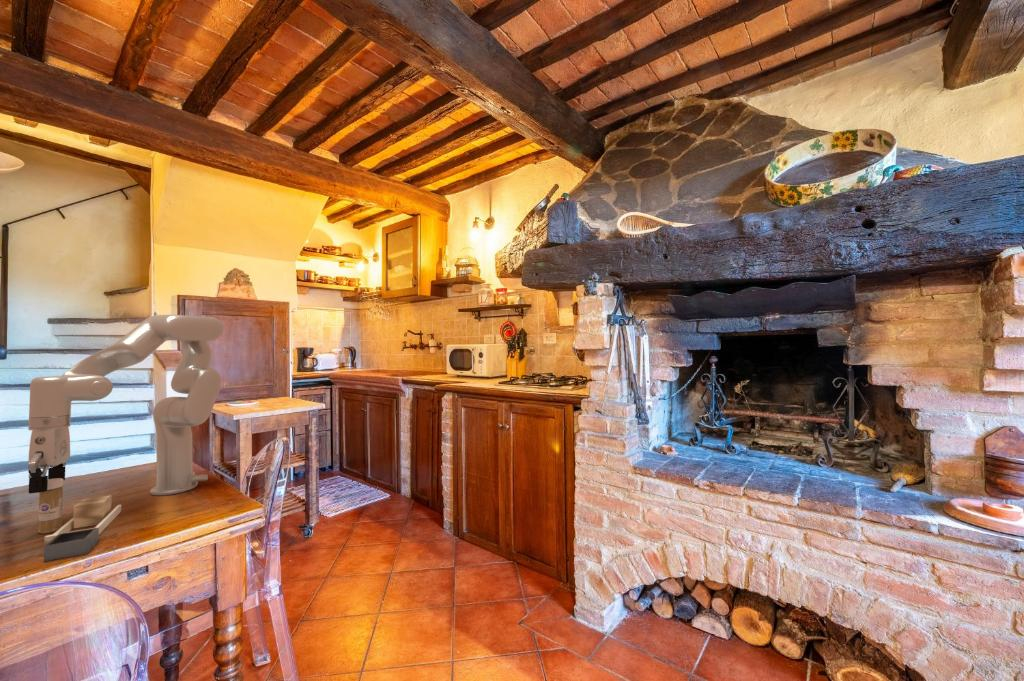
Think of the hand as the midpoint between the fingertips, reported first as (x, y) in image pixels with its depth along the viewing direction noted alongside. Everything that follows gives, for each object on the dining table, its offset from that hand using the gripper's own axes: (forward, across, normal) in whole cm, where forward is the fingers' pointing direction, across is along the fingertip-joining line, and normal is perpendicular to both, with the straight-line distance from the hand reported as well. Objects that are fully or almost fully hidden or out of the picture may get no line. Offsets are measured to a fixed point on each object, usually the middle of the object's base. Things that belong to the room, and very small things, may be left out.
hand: (47, 486), depth 111 cm
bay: (+12, -2, -9) cm, 15 cm away
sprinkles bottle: (+12, +1, -1) cm, 12 cm away
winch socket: (+12, -17, -11) cm, 24 cm away
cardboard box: (+12, +2, -9) cm, 15 cm away
